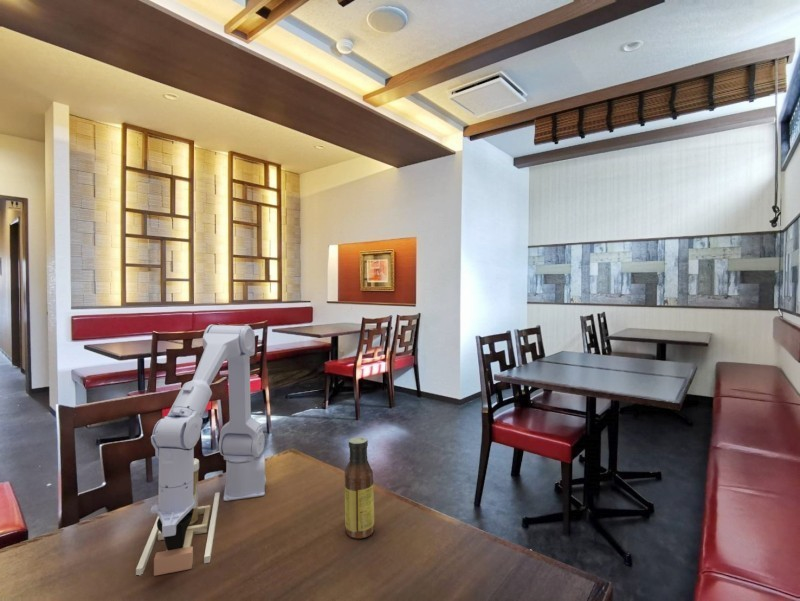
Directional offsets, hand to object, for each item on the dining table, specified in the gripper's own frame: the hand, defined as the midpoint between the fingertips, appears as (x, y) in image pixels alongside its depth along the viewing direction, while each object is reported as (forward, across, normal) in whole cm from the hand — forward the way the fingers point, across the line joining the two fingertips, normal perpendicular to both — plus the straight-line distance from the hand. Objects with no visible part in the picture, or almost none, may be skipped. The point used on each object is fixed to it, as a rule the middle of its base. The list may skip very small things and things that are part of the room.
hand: (175, 553), depth 77 cm
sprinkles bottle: (+2, -14, 0) cm, 15 cm away
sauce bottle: (+2, +1, +35) cm, 35 cm away
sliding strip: (+2, -7, 0) cm, 8 cm away
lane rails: (+2, -11, 0) cm, 11 cm away
